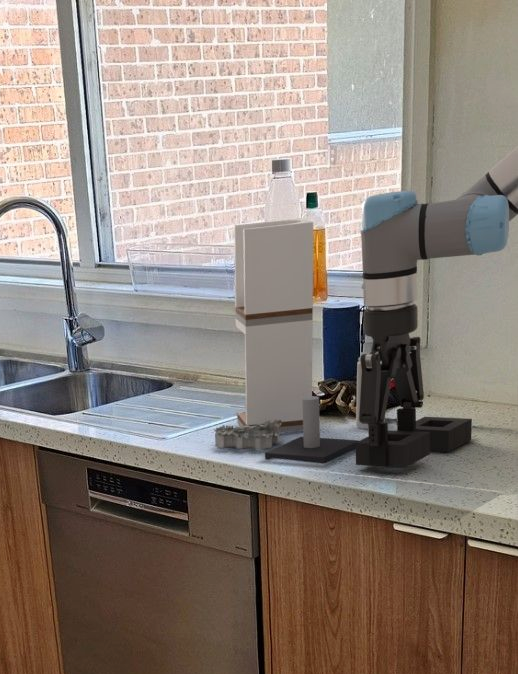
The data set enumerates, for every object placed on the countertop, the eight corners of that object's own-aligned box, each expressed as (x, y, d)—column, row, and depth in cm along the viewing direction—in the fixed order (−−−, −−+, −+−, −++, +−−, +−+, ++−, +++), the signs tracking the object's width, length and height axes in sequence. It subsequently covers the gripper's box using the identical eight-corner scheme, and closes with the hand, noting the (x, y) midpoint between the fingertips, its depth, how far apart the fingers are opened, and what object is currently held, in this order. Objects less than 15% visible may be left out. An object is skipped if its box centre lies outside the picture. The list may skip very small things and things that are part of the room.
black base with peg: (359, 449, 201) (358, 391, 197) (324, 466, 194) (322, 407, 190) (300, 445, 208) (299, 389, 204) (264, 461, 201) (262, 404, 198)
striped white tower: (299, 418, 226) (299, 218, 212) (311, 430, 217) (313, 222, 202) (237, 423, 227) (234, 225, 213) (247, 436, 217) (244, 229, 203)
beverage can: (356, 431, 211) (357, 361, 206) (355, 425, 215) (356, 356, 210) (385, 430, 210) (387, 359, 205) (384, 423, 214) (386, 354, 209)
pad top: (471, 440, 196) (472, 418, 195) (448, 452, 192) (448, 430, 190) (424, 437, 202) (424, 416, 201) (400, 449, 197) (400, 428, 196)
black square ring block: (429, 454, 186) (429, 432, 185) (404, 468, 182) (404, 445, 180) (381, 451, 192) (381, 429, 191) (355, 465, 187) (355, 442, 186)
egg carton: (285, 443, 211) (285, 419, 210) (265, 453, 206) (265, 429, 204) (229, 439, 218) (229, 416, 216) (209, 449, 212) (208, 426, 211)
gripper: (401, 294, 187) (403, 440, 196) (329, 319, 174) (335, 474, 183) (448, 291, 182) (448, 442, 190) (378, 318, 169) (381, 477, 178)
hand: (393, 457), depth 187 cm, fingers closed on black square ring block, 8 cm apart
